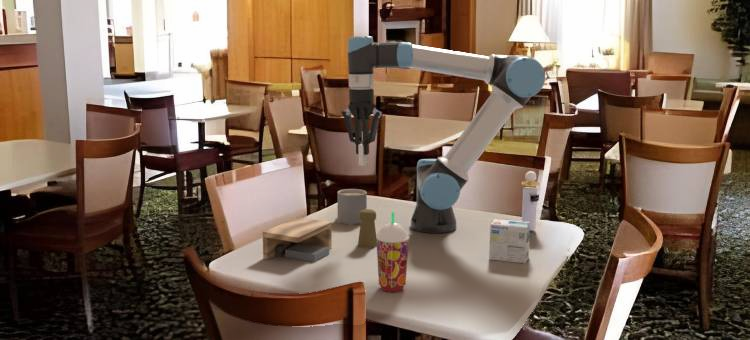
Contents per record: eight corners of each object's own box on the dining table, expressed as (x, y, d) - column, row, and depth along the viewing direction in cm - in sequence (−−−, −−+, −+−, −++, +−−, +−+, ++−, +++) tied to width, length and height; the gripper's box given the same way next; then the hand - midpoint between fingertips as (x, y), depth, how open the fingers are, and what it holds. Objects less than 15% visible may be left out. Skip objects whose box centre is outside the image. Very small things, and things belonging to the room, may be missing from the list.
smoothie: (374, 283, 187) (374, 208, 183) (406, 282, 188) (407, 207, 184) (377, 294, 179) (377, 216, 175) (410, 293, 180) (411, 216, 176)
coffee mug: (368, 223, 244) (368, 195, 242) (338, 224, 242) (338, 195, 240) (363, 213, 257) (363, 186, 255) (335, 214, 255) (335, 187, 253)
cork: (375, 248, 217) (375, 213, 214) (355, 247, 218) (355, 211, 216) (379, 242, 222) (379, 208, 220) (360, 241, 224) (360, 207, 221)
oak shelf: (331, 248, 217) (331, 222, 215) (298, 265, 201) (298, 237, 199) (298, 242, 222) (297, 217, 220) (263, 258, 206) (262, 231, 205)
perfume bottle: (515, 230, 237) (518, 170, 233) (527, 227, 240) (529, 168, 237) (529, 234, 232) (532, 173, 229) (540, 231, 236) (544, 171, 232)
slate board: (329, 255, 211) (329, 247, 211) (314, 263, 204) (314, 254, 204) (300, 250, 216) (300, 242, 215) (285, 258, 209) (285, 249, 208)
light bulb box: (529, 257, 210) (531, 221, 207) (526, 264, 203) (528, 227, 201) (492, 253, 213) (493, 217, 211) (488, 260, 207) (489, 223, 205)
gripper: (336, 88, 217) (338, 165, 221) (375, 89, 211) (377, 168, 216) (347, 86, 223) (349, 161, 228) (386, 87, 218) (387, 164, 223)
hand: (362, 164), depth 222 cm, fingers closed
